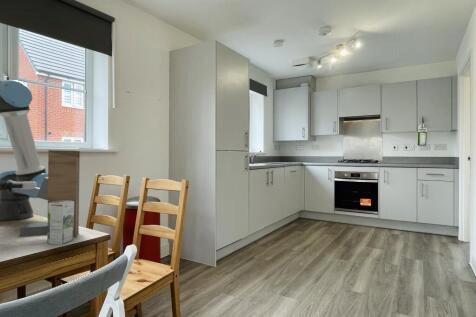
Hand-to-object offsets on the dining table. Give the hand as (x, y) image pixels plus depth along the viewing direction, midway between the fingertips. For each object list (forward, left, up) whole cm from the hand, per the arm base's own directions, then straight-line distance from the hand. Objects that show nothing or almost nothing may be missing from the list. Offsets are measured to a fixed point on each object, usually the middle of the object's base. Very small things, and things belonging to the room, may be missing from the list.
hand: (34, 185), depth 112 cm
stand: (+8, +11, -19) cm, 24 cm away
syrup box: (+17, +12, -19) cm, 28 cm away
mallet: (0, -1, -4) cm, 4 cm away
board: (-1, +3, -19) cm, 19 cm away
